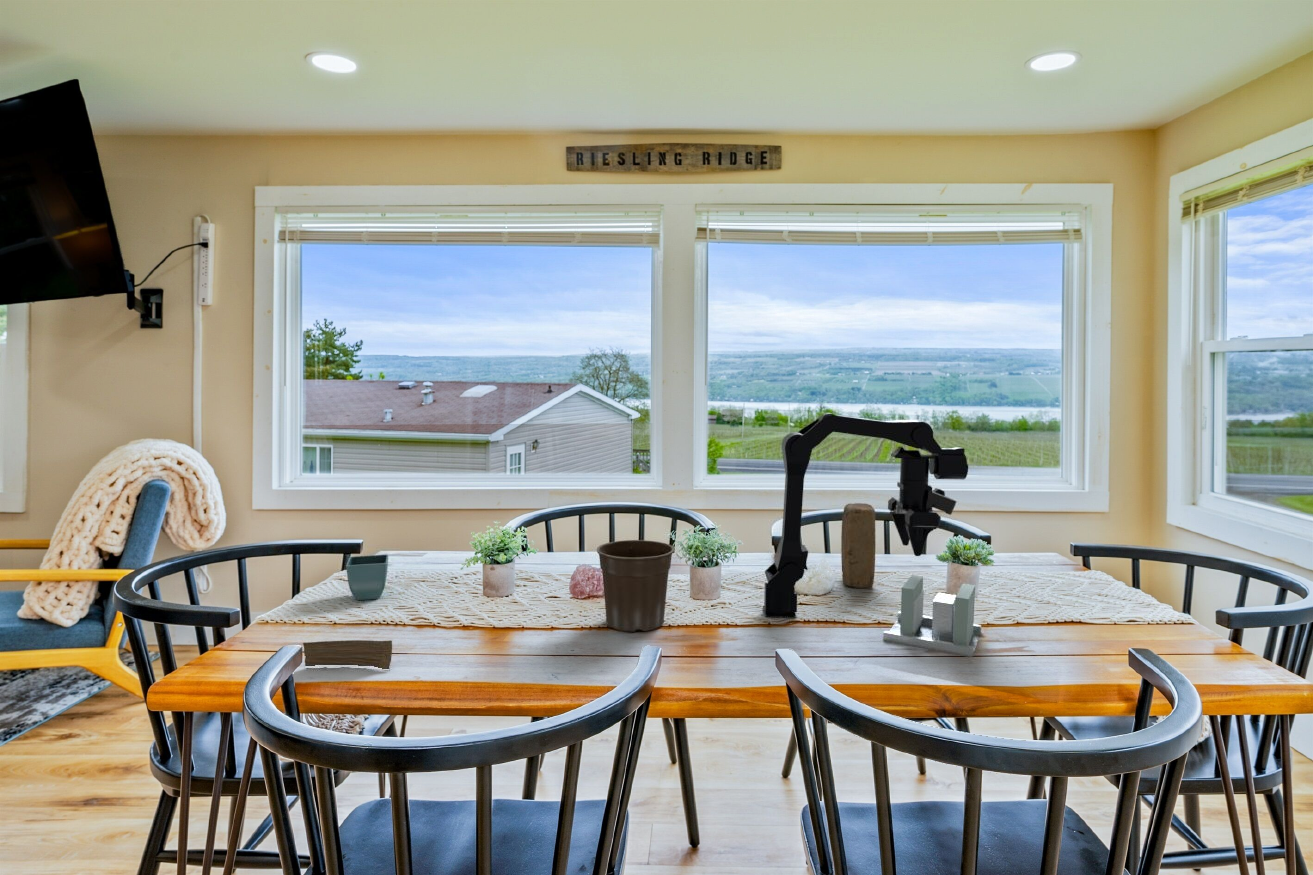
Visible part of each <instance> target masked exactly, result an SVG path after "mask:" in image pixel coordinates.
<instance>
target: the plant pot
mask: <svg viewBox="0 0 1313 875" xmlns="http://www.w3.org/2000/svg"><path fill="white" fill-rule="evenodd" d="M596 552H597V554H598V556H599V566H600V569H601V570H602V571H601V572H602V583H603V593H604V594H603V595H604V605H605V606H604V607H605V618H606V619H605V620H606V622H607V625H608V627H609V628H612V629H614V630H615V631H616V630H617V631H620V632H629V633H633V632H636V631H637V630H640V631H642V632H648V631H653V630H657V629H659V628H661V626H663V625H664V624H665V614H666V612H665V611H666V603H667V602H666V601H667V592H668V582H669V581H668V580H669V572H670V571H669V570H670V569H671V567H672V565H671V564H672V555H673V553H674V552H675V547H674V546H673V545H671V544H668V543H665V542H662V541H656V540H645V539H643V540H642V539H640V540H639V539H631V540H629V539H627V540H616V541H611V542H606V543H602V544H600V545H599V546H598V547H596Z"/></svg>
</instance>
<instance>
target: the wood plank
mask: <svg viewBox="0 0 1313 875" xmlns="http://www.w3.org/2000/svg"><path fill="white" fill-rule="evenodd" d="M302 645H303V654H304V657H305V658H304V667H305V666H315V665H358V666H374V667H378V668H382V669H389V670H390V666H391V662H392V657H393V654H392V653H393V640H361V639H358V640H355V639H354V640H350V639H348V640H324V641H323V640H322V641H311V642H309V641H308V642H302Z"/></svg>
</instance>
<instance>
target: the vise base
mask: <svg viewBox="0 0 1313 875" xmlns="http://www.w3.org/2000/svg"><path fill="white" fill-rule="evenodd" d="M900 623H901V611H898V612H897V620H896V621H895V623H894V624H893V625H892V627H891V628H890V630H884V631H883V634H882V642H887V643H893V644H897V645H898V644H899V645H904V646H909V647H913V648H920V649H925V650H931V651H934V652H935V651H936V652H940V653H946V654H952V655H956V656H961V657H965V658H966V657H968V658H973V656H974V653H975V650H976V648H977V645H978V642H979V640H980V637H981V634H982V625H981V624H976V623H974V626H973V636H972V639H971V641H970V644H969V646H967V645H961V644H956V643H953V642H954V641H952V643H950V642H945V641H939V640H934V639H932V616H929V615H923V619H922V622H921V626H920V627H919V629H918V630H917V632H916V634H915V635H914V636H911V635H906V634H900Z"/></svg>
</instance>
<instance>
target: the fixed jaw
mask: <svg viewBox="0 0 1313 875" xmlns="http://www.w3.org/2000/svg"><path fill="white" fill-rule="evenodd" d="M955 595H956V597H955V609H954V623H953V641H954V642H953V643H956V644H961V645H967V646H969V644H970V641H971V639H972V636H973V626H974V624H975V623H974V622H975V619H974V618H975V601H976V600H975V598H976V597H975V596H976V585H975V584H968V583H962V585H961V586H960V587H959V590H958V591H957V593H956V594H955Z"/></svg>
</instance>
